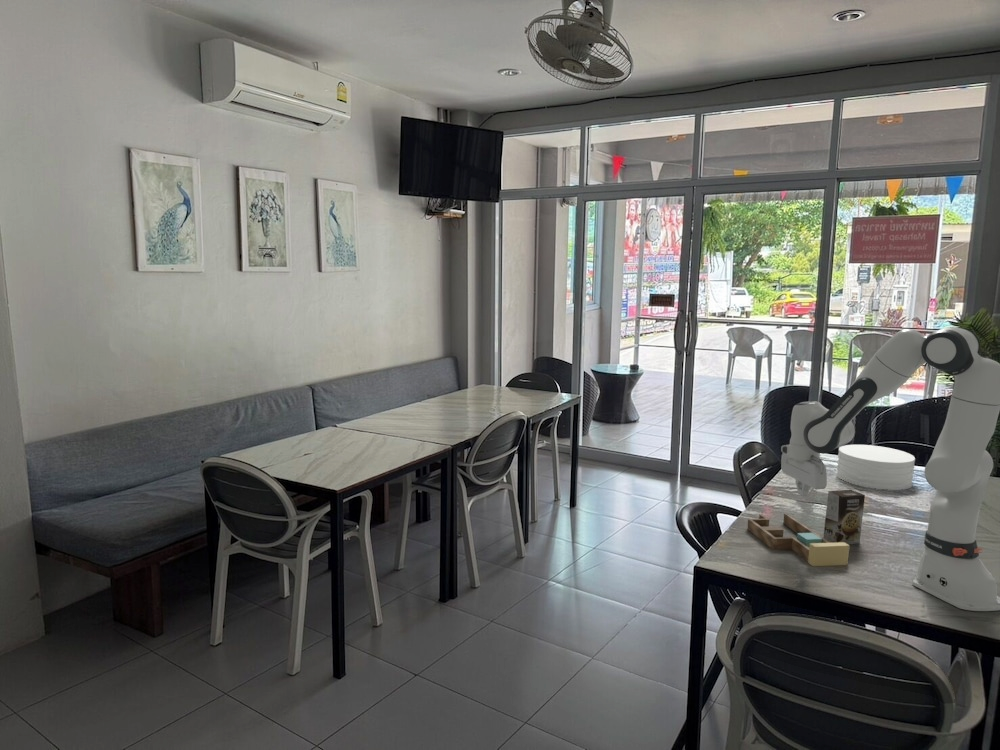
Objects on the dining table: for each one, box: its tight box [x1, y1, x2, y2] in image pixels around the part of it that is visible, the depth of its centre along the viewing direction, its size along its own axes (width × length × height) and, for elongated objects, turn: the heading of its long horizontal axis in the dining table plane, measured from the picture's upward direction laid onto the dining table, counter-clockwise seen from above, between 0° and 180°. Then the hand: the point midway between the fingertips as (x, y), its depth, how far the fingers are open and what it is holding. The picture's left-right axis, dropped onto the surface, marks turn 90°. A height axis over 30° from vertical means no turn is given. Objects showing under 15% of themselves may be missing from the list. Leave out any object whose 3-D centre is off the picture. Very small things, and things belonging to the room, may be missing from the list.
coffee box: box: [822, 489, 866, 545], centre depth 223 cm, size 9×6×16 cm
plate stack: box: [835, 444, 916, 491], centre depth 290 cm, size 28×28×12 cm
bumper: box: [807, 542, 850, 567], centre depth 206 cm, size 2×11×6 cm, turn 97°
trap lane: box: [746, 513, 831, 562], centre depth 222 cm, size 31×16×4 cm, turn 7°
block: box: [796, 533, 822, 548], centre depth 215 cm, size 5×5×5 cm
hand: (802, 495), depth 220 cm, fingers closed
